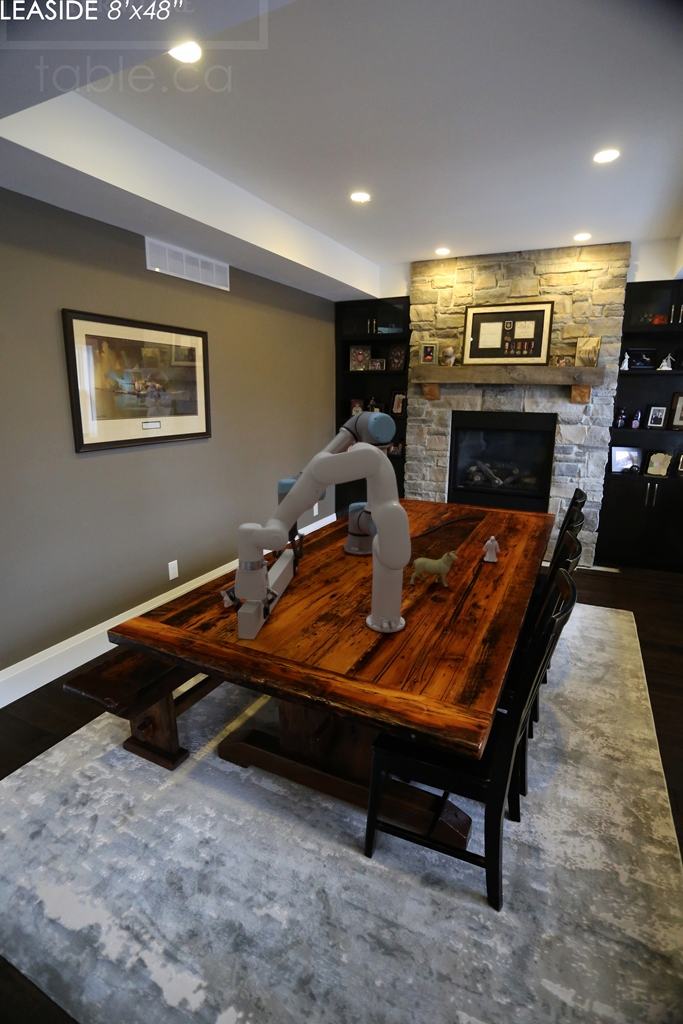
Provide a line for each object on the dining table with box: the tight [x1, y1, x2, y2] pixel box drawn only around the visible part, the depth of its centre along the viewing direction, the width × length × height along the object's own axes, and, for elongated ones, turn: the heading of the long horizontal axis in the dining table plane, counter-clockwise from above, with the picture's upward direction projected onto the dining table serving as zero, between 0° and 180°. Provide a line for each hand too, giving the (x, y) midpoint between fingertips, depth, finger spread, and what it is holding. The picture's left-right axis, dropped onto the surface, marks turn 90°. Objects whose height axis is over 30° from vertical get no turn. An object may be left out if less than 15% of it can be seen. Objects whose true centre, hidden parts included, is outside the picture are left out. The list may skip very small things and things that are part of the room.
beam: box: [237, 548, 298, 640], centre depth 180 cm, size 61×5×9 cm, turn 172°
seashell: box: [219, 590, 242, 609], centre depth 173 cm, size 8×5×8 cm
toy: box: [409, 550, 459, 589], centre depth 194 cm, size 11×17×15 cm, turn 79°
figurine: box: [482, 535, 501, 563], centre depth 223 cm, size 8×8×12 cm
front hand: (252, 616), depth 157 cm, fingers open, 8 cm apart
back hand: (288, 573), depth 203 cm, fingers closed on beam, 5 cm apart
